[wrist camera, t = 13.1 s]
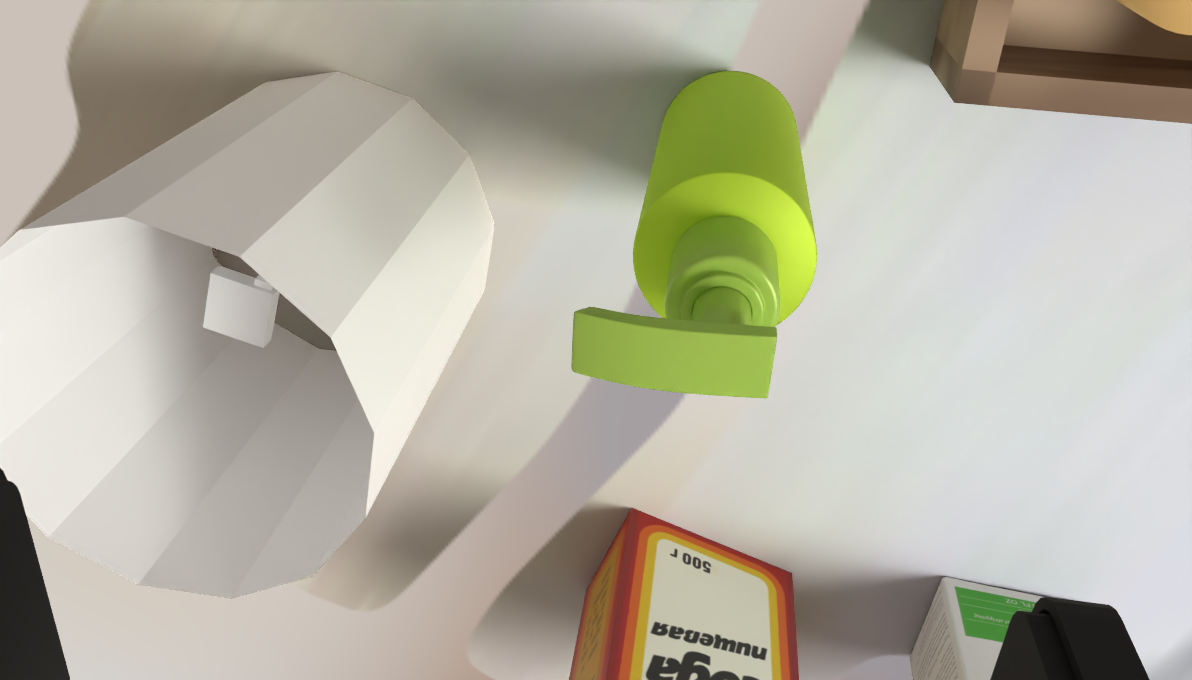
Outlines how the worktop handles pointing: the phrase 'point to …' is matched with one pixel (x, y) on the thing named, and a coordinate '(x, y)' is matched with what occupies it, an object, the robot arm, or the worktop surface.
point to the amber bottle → (1164, 13)
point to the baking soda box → (684, 611)
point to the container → (238, 334)
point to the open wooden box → (1063, 58)
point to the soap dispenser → (712, 248)
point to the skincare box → (965, 630)
